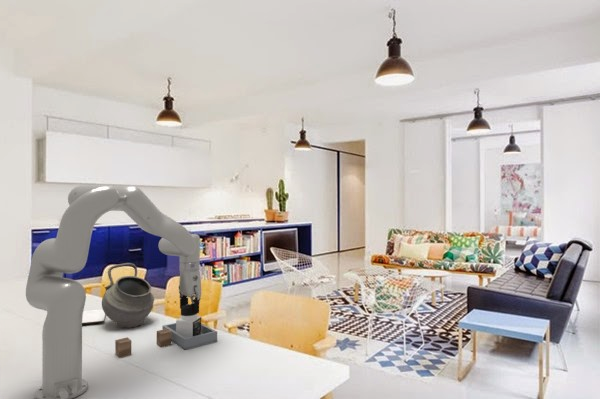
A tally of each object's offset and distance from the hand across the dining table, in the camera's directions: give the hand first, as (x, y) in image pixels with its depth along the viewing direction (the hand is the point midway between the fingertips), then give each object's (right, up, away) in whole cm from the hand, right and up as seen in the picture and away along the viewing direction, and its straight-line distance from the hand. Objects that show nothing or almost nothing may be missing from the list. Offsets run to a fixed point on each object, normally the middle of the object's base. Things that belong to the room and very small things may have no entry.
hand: (189, 310), depth 155 cm
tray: (0, -11, 0) cm, 11 cm away
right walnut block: (-8, -11, -7) cm, 15 cm away
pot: (-31, -11, +17) cm, 37 cm away
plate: (-53, -11, +21) cm, 58 cm away
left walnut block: (-18, -11, -16) cm, 27 cm away
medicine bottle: (0, -10, 0) cm, 10 cm away
